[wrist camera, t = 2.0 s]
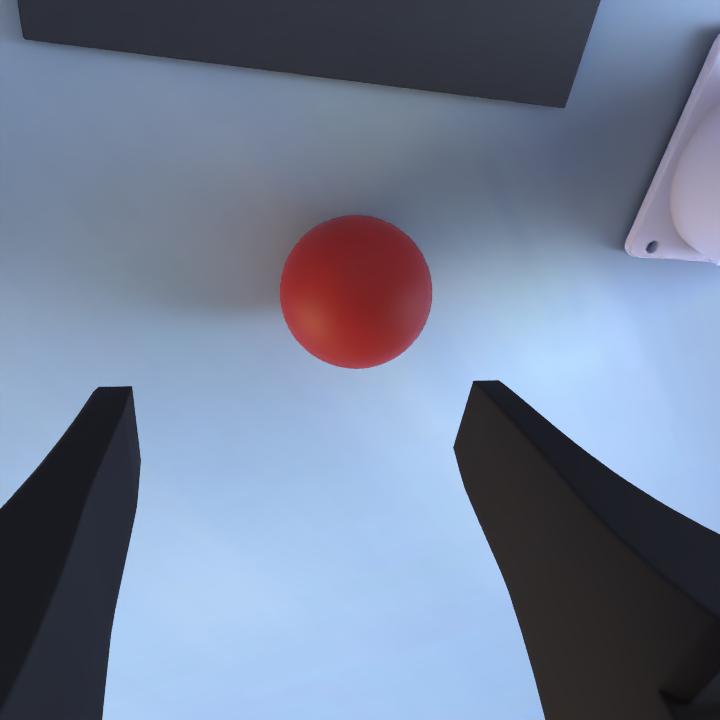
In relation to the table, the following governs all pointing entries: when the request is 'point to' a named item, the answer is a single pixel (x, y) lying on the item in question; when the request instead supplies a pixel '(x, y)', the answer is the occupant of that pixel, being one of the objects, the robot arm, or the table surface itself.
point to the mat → (346, 39)
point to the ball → (355, 291)
